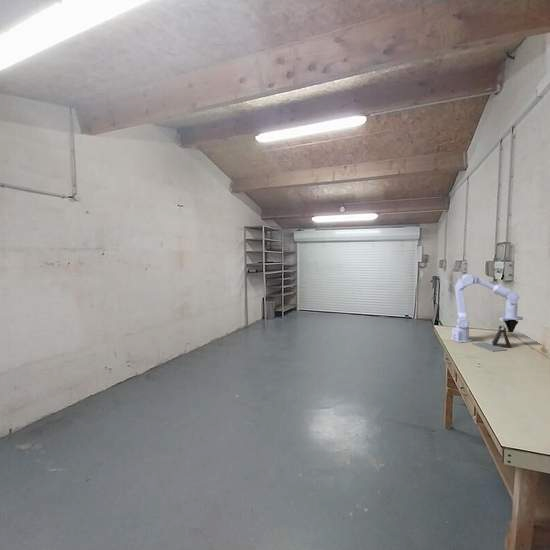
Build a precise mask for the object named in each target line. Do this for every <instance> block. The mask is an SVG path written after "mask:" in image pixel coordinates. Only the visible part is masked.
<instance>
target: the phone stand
mask: <svg viewBox="0 0 550 550" xmlns="http://www.w3.org/2000/svg"><path fill="white" fill-rule="evenodd" d="M502 328H503V329H502ZM502 334H503V336H504V342H505V343H499V340H500V338H501V336H502ZM508 337H509V336H508V334H507V327H505V326H504V325H499V326H498V330H497V333H496V334H495V336H494V338H493V340H492V341H491V344H492V345H494V346H498V347H501V348H510V349H511V348H512V345H511V343H510V340H509V338H508Z"/></svg>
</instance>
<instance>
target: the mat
mask: <svg viewBox="0 0 550 550" xmlns="http://www.w3.org/2000/svg"><path fill="white" fill-rule="evenodd" d="M473 344H474V346H476V347H479V348H481V349H482V348H483V349H485V350H487V351H491V352H493V353H494V352H503V351H505V352H506V351H508V350H509V349H507V348H505V347H501V346H494V345H493V344H492V343H489V342H475V343H474V342H473V343H472V345H473Z"/></svg>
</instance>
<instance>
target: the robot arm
mask: <svg viewBox="0 0 550 550" xmlns="http://www.w3.org/2000/svg"><path fill="white" fill-rule="evenodd" d="M472 284H474V285H481V286H483V287H486V288H488V289H490V290H491V291H492V293H493V294H495V295H498V296H500V297H502V298H505V313H504V314H505V315H504V316H502V317H499V322H504V324H505V325H506V329H507V331H508V332H510V333H514V331H515V329H516V326H517V324H519V321H523V318H524V317H523V316H520V315H519V316H518V303H519V302H518V301H519V299H520V294H519V293H518V292H517V291H514V290H512V289H511V288H507V287H504V285H503V284H493V283H491V282H489V281H487V280H484V279H482V278H480V277H477V276H474V275H470V274H469V273H465V274H463V275H462V276H460V277H459V278H458V280H457V282H456V284H455V285H454V292H455V303H456V311H457V312H456V313H457V315H456V320H455V322H456V323H457V324H456V325H455V327H453V328H452V329H451V338H450V340H452V341H455V342H458V343H470V342H473V340H470V327H469V326H470V321H469V320H468V317H467V313H466V303H465V295H464V289H466V288H467V287H468V286H471V285H472Z"/></svg>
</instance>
